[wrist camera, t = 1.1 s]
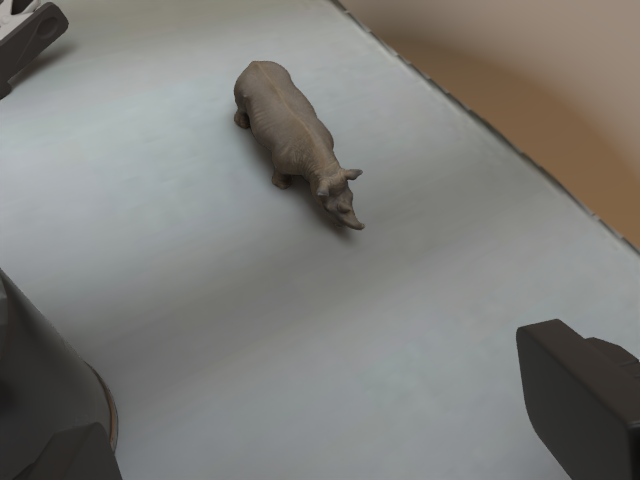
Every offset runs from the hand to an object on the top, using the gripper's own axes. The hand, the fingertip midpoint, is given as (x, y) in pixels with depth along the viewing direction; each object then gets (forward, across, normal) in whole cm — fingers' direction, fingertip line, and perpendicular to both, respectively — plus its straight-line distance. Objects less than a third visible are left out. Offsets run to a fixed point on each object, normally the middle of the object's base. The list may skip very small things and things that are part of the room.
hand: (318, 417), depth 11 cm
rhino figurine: (+30, -1, -1) cm, 30 cm away
